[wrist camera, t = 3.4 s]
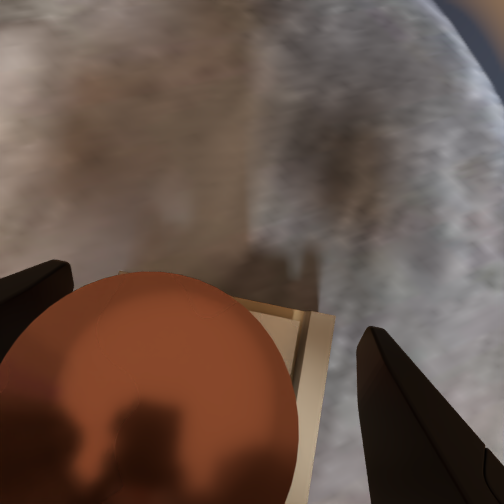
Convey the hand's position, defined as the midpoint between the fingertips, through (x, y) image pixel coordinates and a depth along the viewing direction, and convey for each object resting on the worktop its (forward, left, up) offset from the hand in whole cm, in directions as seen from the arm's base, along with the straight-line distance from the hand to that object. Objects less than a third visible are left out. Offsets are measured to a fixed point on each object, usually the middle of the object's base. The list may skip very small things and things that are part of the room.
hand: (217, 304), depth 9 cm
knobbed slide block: (-3, +2, -5) cm, 6 cm away
